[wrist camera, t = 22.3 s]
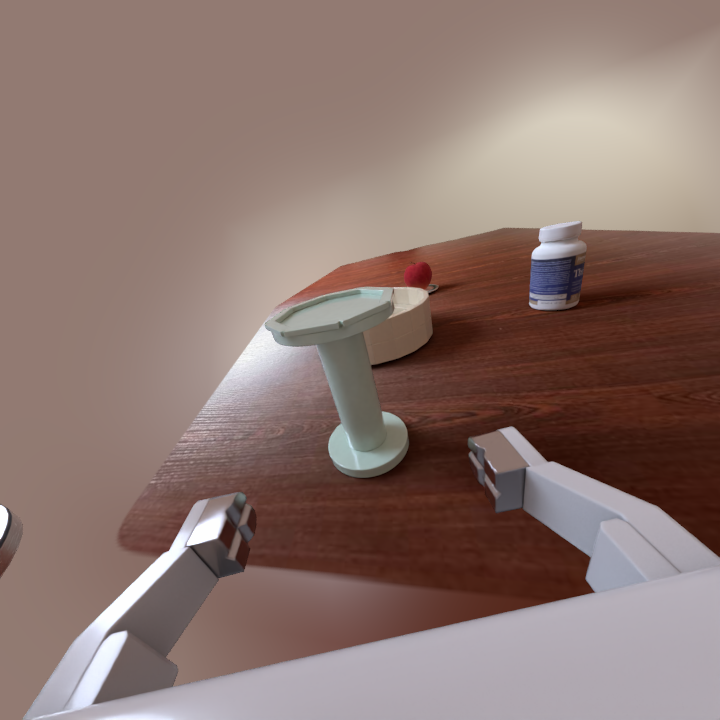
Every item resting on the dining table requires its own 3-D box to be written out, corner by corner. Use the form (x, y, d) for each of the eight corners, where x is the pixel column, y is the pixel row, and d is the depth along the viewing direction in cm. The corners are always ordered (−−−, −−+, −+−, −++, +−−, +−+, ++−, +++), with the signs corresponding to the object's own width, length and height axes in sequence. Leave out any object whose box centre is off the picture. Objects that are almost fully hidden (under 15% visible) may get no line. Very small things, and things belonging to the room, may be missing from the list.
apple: (395, 299, 56) (389, 268, 53) (409, 288, 62) (405, 259, 59) (431, 296, 51) (427, 262, 49) (443, 285, 57) (441, 254, 54)
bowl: (303, 376, 32) (288, 336, 30) (336, 329, 46) (327, 299, 44) (438, 361, 28) (432, 313, 26) (429, 314, 42) (425, 280, 40)
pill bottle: (580, 310, 31) (593, 222, 27) (527, 312, 34) (532, 232, 30) (577, 297, 35) (588, 217, 31) (529, 299, 38) (534, 227, 34)
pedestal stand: (310, 486, 17) (242, 339, 13) (336, 416, 24) (297, 299, 19) (419, 486, 16) (387, 314, 11) (416, 410, 22) (395, 280, 17)
